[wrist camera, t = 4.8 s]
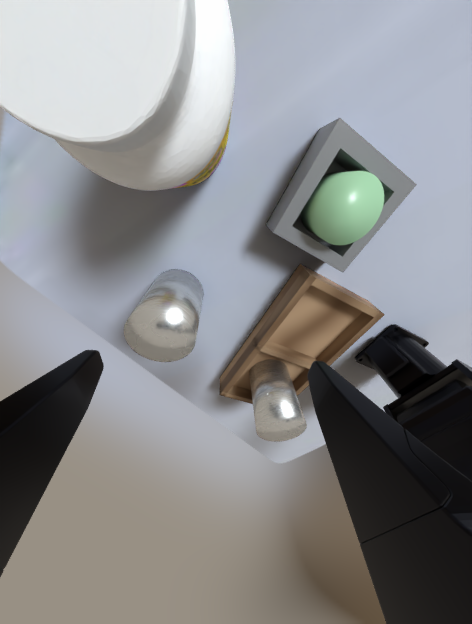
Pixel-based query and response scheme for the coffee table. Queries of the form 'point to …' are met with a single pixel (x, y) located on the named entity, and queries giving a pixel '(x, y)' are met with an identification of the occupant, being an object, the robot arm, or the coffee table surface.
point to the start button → (344, 206)
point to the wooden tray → (301, 331)
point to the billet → (166, 317)
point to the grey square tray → (330, 159)
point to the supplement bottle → (123, 83)
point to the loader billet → (275, 402)
